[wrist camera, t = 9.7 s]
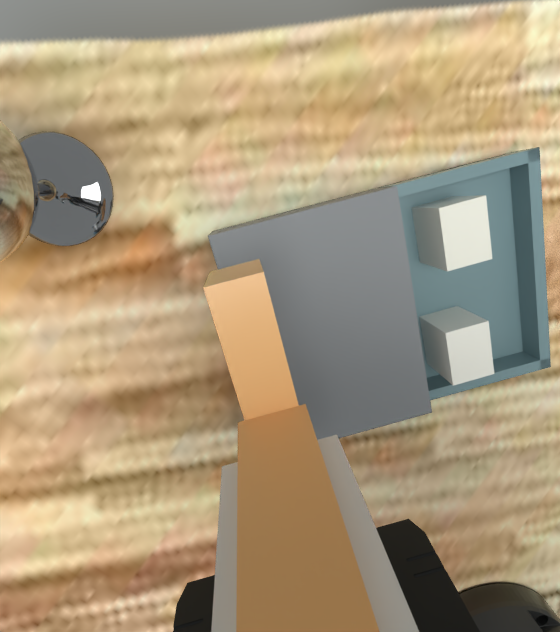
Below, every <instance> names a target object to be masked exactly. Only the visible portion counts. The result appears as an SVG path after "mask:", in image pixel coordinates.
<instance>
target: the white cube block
mask: <svg viewBox="0 0 560 632" xmlns="http://www.w3.org/2000/svg"><path fill="white" fill-rule="evenodd" d="M420 323H421V329H422V335H423V341H424V347H425V354H426V360H427V364H428V365H430V366H431V367H432V368H433V369H434V370H435V371H437V372H438V373H439V374H440V375H441V376H442V377H444V378H445V379H446V380H447V381H448V382H449V383H451V384H452V385H453V386H454V385H457V384H461V383H464V382H468V381H471V380H475V379H478V378H482V377H485V376H489V375H492V374H494V366H493V357H492V348H491V339H490V329H489V321H488V320H485V319H483V318H481V317H479V316H477V315H475V314H473V313H471V312H469V311H467V310H465V309H462V308H460V307H458V306H455V307H452V308H448V309H445V310H441V311H437V312H434V313H430V314H427V315H423V316H420Z"/></svg>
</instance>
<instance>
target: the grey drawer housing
mask: <svg viewBox="0 0 560 632" xmlns="http://www.w3.org/2000/svg"><path fill="white" fill-rule="evenodd" d="M208 238H209V241H210V244H211V248H212V251H213V254H214V258H215V261H216V264H217V268H218V270H219V269H222V268H226V267H230V266H234V265H238V264H241V263H245V262H249V261H253V260H257V259H259V260H260V263H261V265H262V268H263V271H264V275H265V279H266V283H267V286H268V290H269V294H270V298H271V302H272V305H273V309H274V313H275V317H276V321H277V325H278V328H279V332H280V336H281V340H282V344H283V347H284V351H285V355H286V359H287V363H288V366H289V370H290V374H291V378H292V382H293V386H294V389H295V393H296V397H297V401H298V405H299V406H300V405H303V404H306V407H307V410H308V413H309V416H310V419H311V422H312V425H313V428H314V432H315V435H316V438H317V440H319V439H322V438H326V437H330V436H333V435H337V436H338V438H341V437H345V436H349V435H352V434H356V433H359V432H363V431H367V430H370V429H374V428H377V427H381V426H385V425H388V424H392V423H395V422H399V421H403V420H406V419H410V418H413V417H417V416H421V415H424V414H428V413H431V412H432V409H431V403H430V396H429V390H428V383H427V377H426V370H425V364H424V357H423V351H422V344H421V338H420V331H419V325H418V318H417V312H416V306H415V299H414V293H413V286H412V280H411V273H410V267H409V260H408V254H407V247H406V241H405V234H404V228H403V221H402V215H401V209H400V202H399V196H398V189H397V186H393V187H384V188H375V189H371V190H367V191H364V192H360V193H356V194H352V195H348V196H345V197H341V198H337V199H333V200H330V201H326V202H322V203H318V204H314V205H311V206H307V207H303V208H299V209H295V210H292V211H288V212H284V213H280V214H276V215H273V216H269V217H265V218H261V219H258V220H254V221H250V222H246V223H242V224H239V225H235V226H231V227H227V228H223V229H220V230H216V231H212V232H211V233H210V235H209V236H208Z"/></svg>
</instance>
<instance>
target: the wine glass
mask: <svg viewBox="0 0 560 632" xmlns="http://www.w3.org/2000/svg"><path fill="white" fill-rule="evenodd" d="M112 207H113V188H112V183H111V180H110V176H109V174H108V172H107V170H106V168H105V166H104V165H103V163H102V162H101V160H100V159H99V157H98V156H97V155H96V154H95V153H94V152H93V151H92V150H91V149H90V148H89V147H87V146H86V145H85V144H84V143H82V142H80V141H78V140H77V139H75V138H73V137H70V136H68V135H65V134H61V133H56V132H39V133H33V134H30V135H28V136H25V137H23V138H21V139H20V140H17V138H16V137H15V136H14V134H13V133H12V132H11V131H10V130H9V129H8V127H7V126H6V125H5V124H4V123H3V122H2V121H1V120H0V263H1V262H3V261H4V260H5V259H6V258H7V257H9V256H10V255H11V254H12V253H13V252H14V251H15V250H16V249H17V248H18V247H20V246H21V245H22V243H23V242H24V240H25V239H26V237H27V236H28V235H30V236H31V237H33V238H35V239H37V240H39V241H41V242H44V243H47V244H51V245H57V246H72V245H77V244H81V243H83V242H86V241H88V240H90V239H91V238H93V237H95V236H96V235H97V234H98V233H99V232H100V231H101V230H102V229H103V227H104V226H105V225H106V223H107V221H108V219H109V217H110V215H111V211H112Z"/></svg>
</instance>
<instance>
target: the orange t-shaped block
mask: <svg viewBox="0 0 560 632" xmlns="http://www.w3.org/2000/svg"><path fill="white" fill-rule="evenodd" d="M203 289H204V292H205V295H206V298H207V302H208V305H209V308H210V311H211V314H212V318H213V321H214V324H215V327H216V330H217V334H218V337H219V340H220V343H221V346H222V350H223V353H224V356H225V359H226V362H227V365H228V369H229V372H230V375H231V378H232V381H233V385H234V388H235V391H236V394H237V397H238V401H239V404H240V407H241V410H242V413H243V417H244V420H245V421H241V422H238V475H237V606H236V632H379V628H378V625H377V622H376V619H375V616H374V613H373V610H372V607H371V604H370V601H369V598H368V595H367V592H366V588H365V585H364V582H363V579H362V576H361V573H360V570H359V567H358V564H357V561H356V558H355V555H354V552H353V548H352V545H351V542H350V539H349V536H348V533H347V530H346V527H345V524H344V521H343V518H342V515H341V512H340V508H339V505H338V502H337V499H336V496H335V493H334V490H333V487H332V484H331V481H330V478H329V475H328V472H327V468H326V465H325V462H324V459H323V456H322V453H321V450H320V447H319V444H318V441H317V438H316V435H315V432H314V428H313V425H312V422H311V419H310V416H309V413H308V410H307V407H306V404H303V405H300V406H299V405H298V401H297V397H296V393H295V389H294V386H293V382H292V378H291V374H290V370H289V366H288V363H287V359H286V355H285V351H284V347H283V344H282V340H281V336H280V332H279V328H278V325H277V321H276V317H275V313H274V309H273V305H272V302H271V298H270V294H269V290H268V286H267V283H266V279H265V275H264V271H263V268H262V265H261V263H260V260H259V259H257V260H253V261H249V262H245V263H241V264H238V265H234V266H230V267H226V268H222V269H219V270H215V271H211V272H210V273H209V275H208V278H207V280H206V282H205V285H204V287H203Z"/></svg>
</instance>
